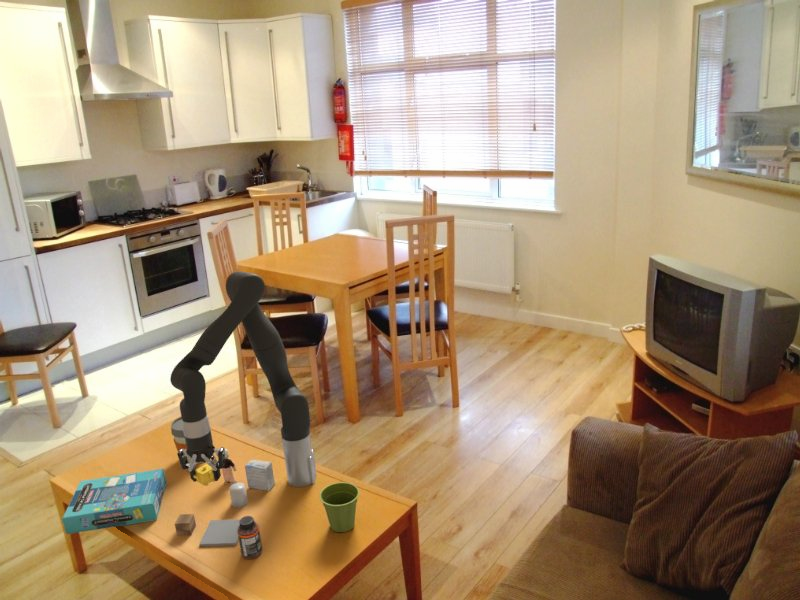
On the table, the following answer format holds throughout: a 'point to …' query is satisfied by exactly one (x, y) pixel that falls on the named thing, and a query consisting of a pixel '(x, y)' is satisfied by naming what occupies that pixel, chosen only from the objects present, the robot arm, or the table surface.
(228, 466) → the grandmother figurine
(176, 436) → the reusable coffee cup
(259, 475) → the medicine box
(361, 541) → the table surface
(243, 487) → the white rounded cylinder
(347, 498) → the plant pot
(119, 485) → the game box
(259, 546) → the supplement bottle
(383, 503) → the table surface
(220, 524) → the slate mat
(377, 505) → the table surface
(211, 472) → the teapot
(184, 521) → the walnut cube
